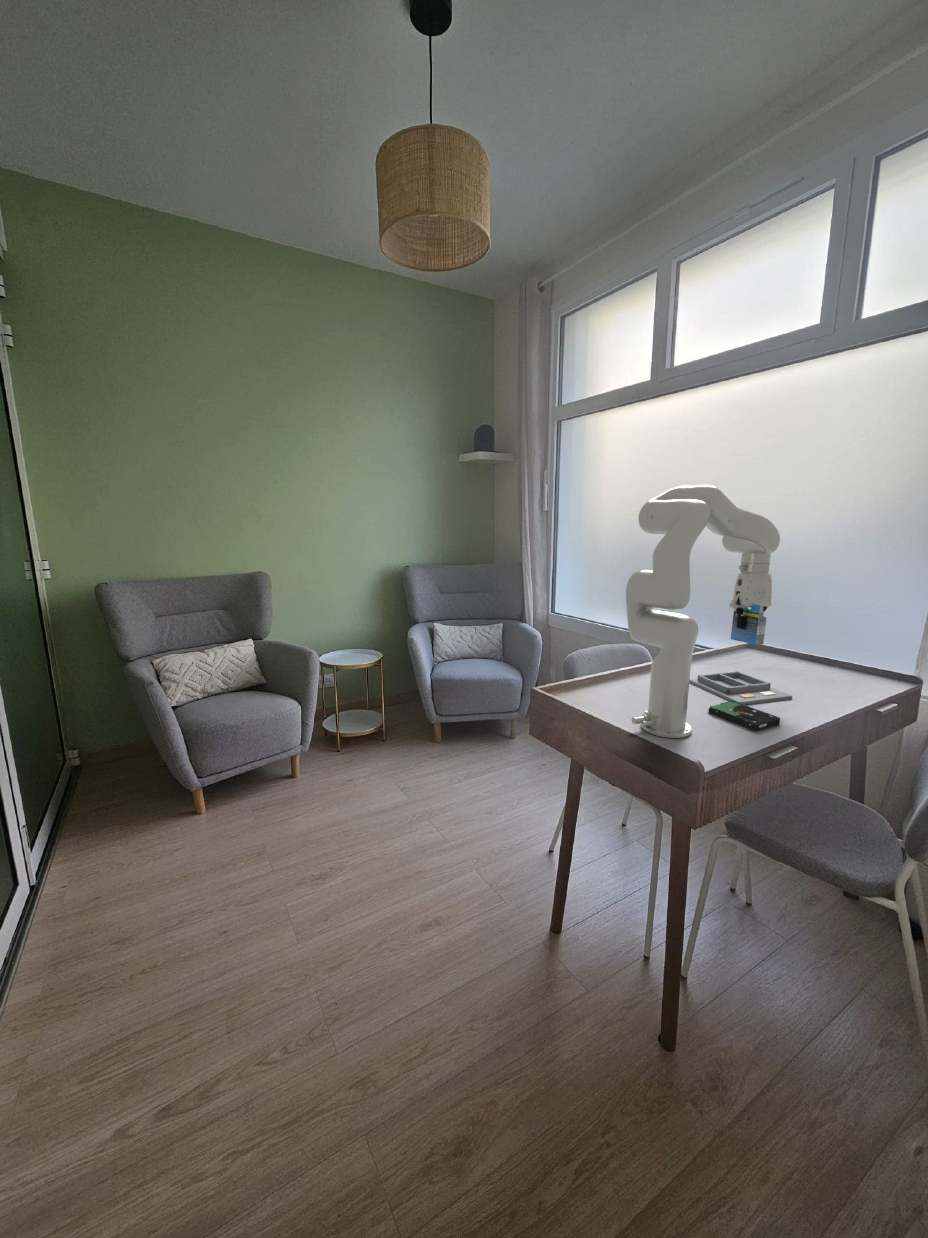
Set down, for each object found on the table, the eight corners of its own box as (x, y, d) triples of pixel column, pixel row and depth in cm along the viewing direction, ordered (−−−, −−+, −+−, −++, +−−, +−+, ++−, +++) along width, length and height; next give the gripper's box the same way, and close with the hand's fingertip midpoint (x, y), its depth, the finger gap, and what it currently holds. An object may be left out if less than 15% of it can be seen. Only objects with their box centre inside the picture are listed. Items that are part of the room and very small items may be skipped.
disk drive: (779, 727, 138) (730, 708, 151) (781, 717, 138) (731, 699, 151) (755, 734, 134) (707, 714, 147) (756, 724, 133) (708, 705, 146)
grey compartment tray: (739, 705, 152) (740, 696, 152) (689, 682, 173) (689, 674, 172) (792, 698, 157) (793, 689, 157) (737, 677, 178) (738, 669, 178)
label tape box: (763, 644, 153) (769, 604, 151) (754, 645, 152) (760, 605, 149) (738, 638, 161) (743, 600, 159) (729, 639, 160) (734, 600, 157)
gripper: (740, 570, 147) (734, 632, 150) (788, 569, 150) (780, 629, 154) (721, 568, 154) (715, 627, 157) (767, 566, 158) (761, 624, 161)
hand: (748, 627), depth 156 cm, fingers closed on label tape box, 4 cm apart
